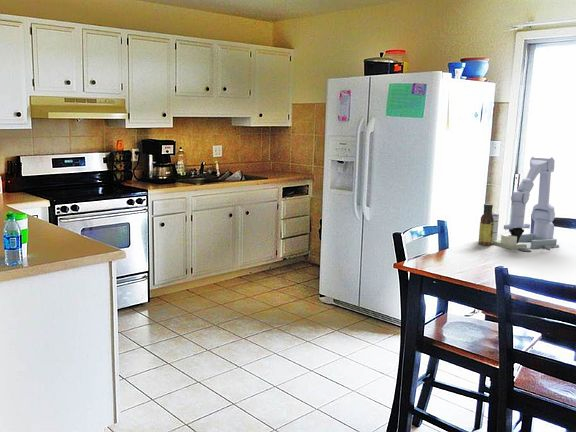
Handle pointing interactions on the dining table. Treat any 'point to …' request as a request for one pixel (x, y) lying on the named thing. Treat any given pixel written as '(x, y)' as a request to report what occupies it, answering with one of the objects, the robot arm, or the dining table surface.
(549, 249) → the crook tool
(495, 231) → the syrup box
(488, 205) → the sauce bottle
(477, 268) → the dining table surface
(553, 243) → the pale blue square frame
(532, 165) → the robot arm
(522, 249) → the hole marker
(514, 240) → the cube
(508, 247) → the pale green flat block
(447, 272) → the dining table surface
